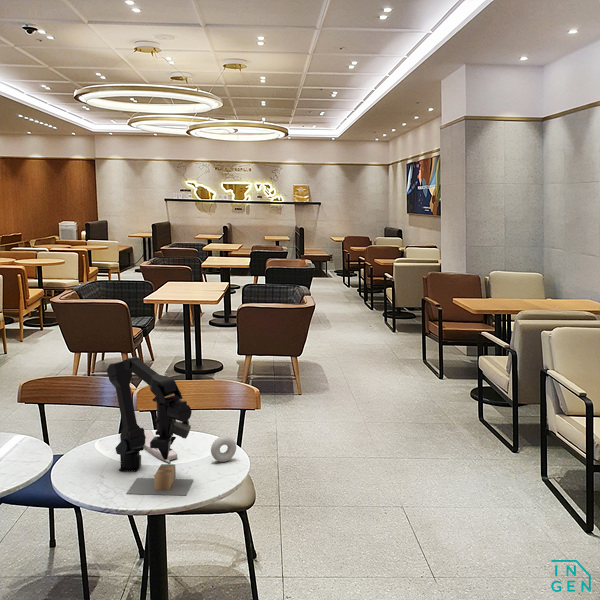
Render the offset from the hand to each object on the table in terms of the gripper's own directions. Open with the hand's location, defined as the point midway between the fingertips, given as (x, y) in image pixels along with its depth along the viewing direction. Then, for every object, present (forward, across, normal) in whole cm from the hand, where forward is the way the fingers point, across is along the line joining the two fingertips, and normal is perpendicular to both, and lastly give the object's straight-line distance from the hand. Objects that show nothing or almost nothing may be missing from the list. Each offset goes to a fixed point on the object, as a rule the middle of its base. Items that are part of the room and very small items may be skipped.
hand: (165, 459), depth 230 cm
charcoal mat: (+8, -4, +1) cm, 9 cm away
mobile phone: (+9, +28, +10) cm, 31 cm away
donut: (+9, +21, -17) cm, 28 cm away
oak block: (+6, +4, 0) cm, 7 cm away
